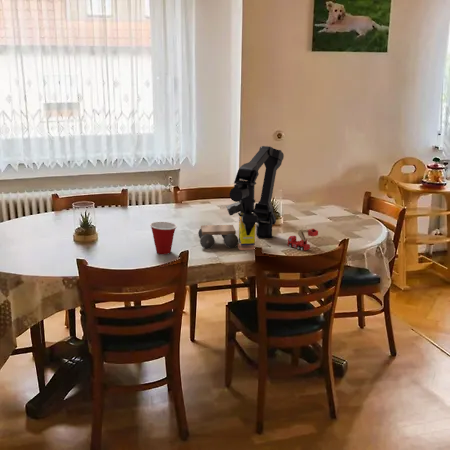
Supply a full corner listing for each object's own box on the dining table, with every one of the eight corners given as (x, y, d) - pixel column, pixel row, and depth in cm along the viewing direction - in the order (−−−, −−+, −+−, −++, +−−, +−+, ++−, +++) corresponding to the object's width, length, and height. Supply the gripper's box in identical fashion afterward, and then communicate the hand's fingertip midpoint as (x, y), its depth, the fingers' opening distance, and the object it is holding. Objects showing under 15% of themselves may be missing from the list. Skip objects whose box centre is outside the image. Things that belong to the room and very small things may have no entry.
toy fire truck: (291, 244, 234) (292, 222, 231) (317, 252, 225) (318, 229, 222) (286, 246, 232) (287, 224, 229) (312, 253, 222) (313, 231, 220)
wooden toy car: (234, 238, 241) (234, 223, 239) (238, 247, 229) (238, 232, 227) (198, 239, 239) (198, 224, 237) (200, 249, 227) (200, 233, 225)
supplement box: (238, 241, 232) (238, 216, 229) (252, 240, 233) (252, 216, 230) (240, 245, 226) (241, 220, 223) (255, 245, 227) (255, 219, 224)
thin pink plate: (253, 244, 234) (253, 243, 234) (255, 249, 227) (255, 248, 227) (237, 244, 233) (237, 244, 233) (239, 249, 226) (239, 249, 226)
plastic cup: (179, 255, 219) (179, 226, 216) (153, 257, 216) (152, 228, 213) (174, 247, 229) (174, 219, 226) (149, 249, 226) (148, 221, 223)
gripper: (225, 192, 232) (225, 227, 236) (230, 202, 214) (230, 240, 219) (251, 191, 233) (250, 226, 238) (258, 202, 215) (257, 239, 220)
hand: (246, 232), depth 228 cm, fingers closed on supplement box, 6 cm apart
